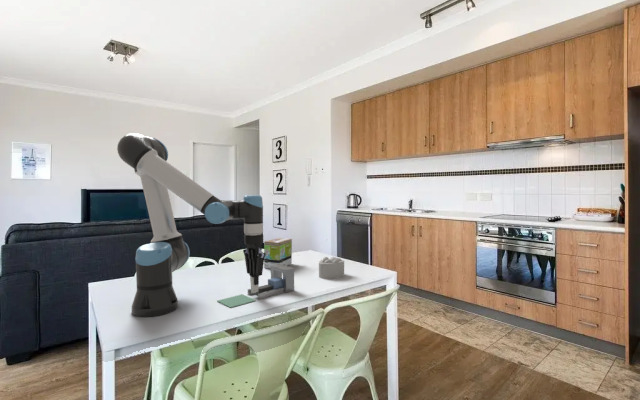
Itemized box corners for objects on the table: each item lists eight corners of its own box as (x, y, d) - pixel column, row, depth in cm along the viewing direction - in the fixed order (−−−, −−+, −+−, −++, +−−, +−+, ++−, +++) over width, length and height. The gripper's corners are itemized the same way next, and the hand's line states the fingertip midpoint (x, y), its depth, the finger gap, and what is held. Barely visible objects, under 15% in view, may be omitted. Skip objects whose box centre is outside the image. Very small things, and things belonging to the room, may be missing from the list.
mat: (230, 308, 125) (230, 307, 125) (217, 301, 132) (217, 300, 132) (255, 300, 132) (255, 300, 132) (242, 294, 140) (242, 294, 140)
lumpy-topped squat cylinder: (347, 275, 170) (347, 258, 169) (328, 280, 161) (328, 262, 161) (332, 271, 177) (332, 254, 177) (313, 276, 169) (313, 258, 168)
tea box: (280, 270, 181) (280, 242, 180) (263, 268, 184) (263, 241, 184) (292, 263, 195) (292, 238, 194) (276, 262, 198) (276, 237, 198)
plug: (260, 296, 137) (260, 284, 137) (254, 294, 140) (254, 282, 140) (283, 290, 145) (283, 279, 145) (277, 288, 148) (277, 277, 148)
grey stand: (260, 299, 134) (260, 275, 133) (246, 293, 141) (245, 270, 141) (294, 290, 145) (294, 268, 145) (279, 285, 153) (279, 264, 153)
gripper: (271, 234, 134) (271, 293, 135) (252, 231, 144) (253, 286, 145) (254, 236, 129) (255, 298, 130) (237, 233, 139) (238, 290, 140)
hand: (254, 292), depth 137 cm, fingers closed
